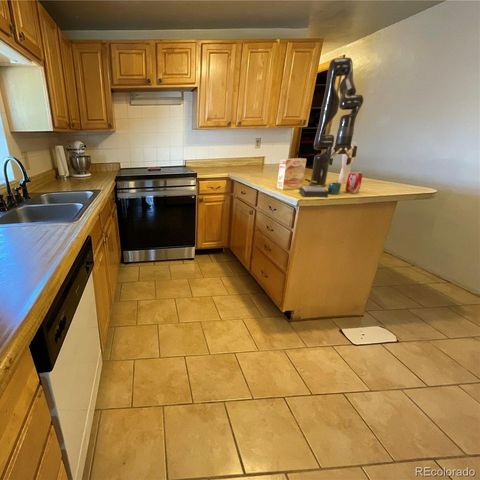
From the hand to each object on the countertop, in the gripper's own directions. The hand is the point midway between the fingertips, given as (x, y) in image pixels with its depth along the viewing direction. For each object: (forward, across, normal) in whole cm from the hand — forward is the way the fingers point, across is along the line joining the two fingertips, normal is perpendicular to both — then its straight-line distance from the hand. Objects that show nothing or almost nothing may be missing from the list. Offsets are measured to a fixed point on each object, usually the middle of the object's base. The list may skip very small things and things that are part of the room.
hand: (338, 165), depth 154 cm
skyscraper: (+17, -18, -43) cm, 50 cm away
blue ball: (+17, 0, -1) cm, 17 cm away
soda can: (+17, -11, -5) cm, 21 cm away
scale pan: (+14, +12, +3) cm, 19 cm away
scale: (+17, +12, +3) cm, 21 cm away
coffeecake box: (+17, +22, -17) cm, 32 cm away
